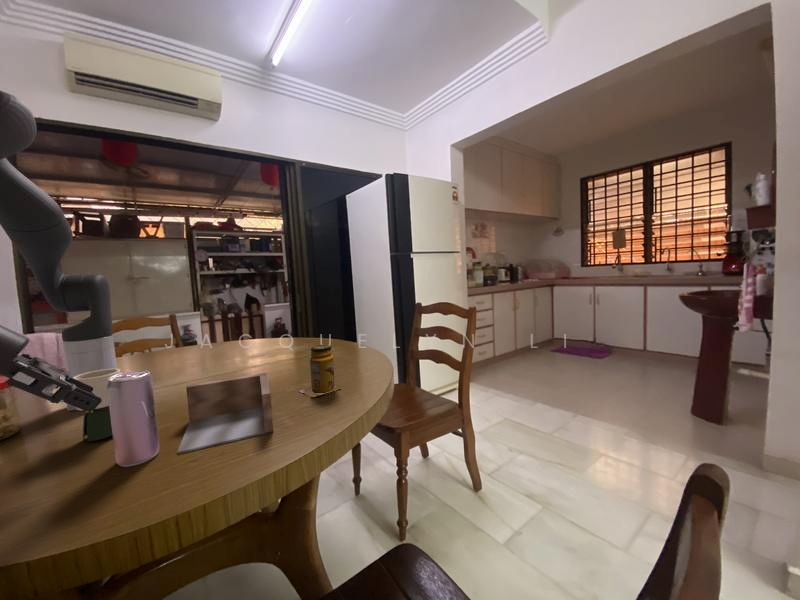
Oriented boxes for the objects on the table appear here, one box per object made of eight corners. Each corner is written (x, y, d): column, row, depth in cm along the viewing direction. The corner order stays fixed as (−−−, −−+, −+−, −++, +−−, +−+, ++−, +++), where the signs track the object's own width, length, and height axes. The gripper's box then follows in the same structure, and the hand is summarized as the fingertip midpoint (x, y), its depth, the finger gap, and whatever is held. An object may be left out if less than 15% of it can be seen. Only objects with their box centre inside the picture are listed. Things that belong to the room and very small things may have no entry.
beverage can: (133, 450, 59) (124, 371, 58) (167, 447, 60) (159, 368, 58) (106, 470, 53) (95, 382, 52) (144, 466, 54) (134, 379, 52)
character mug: (64, 441, 63) (56, 377, 62) (106, 424, 70) (99, 366, 69) (102, 448, 60) (93, 381, 59) (142, 430, 67) (135, 369, 66)
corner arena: (177, 454, 57) (172, 411, 56) (190, 420, 71) (187, 385, 70) (273, 431, 64) (270, 393, 63) (268, 405, 77) (266, 372, 77)
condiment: (341, 389, 86) (338, 345, 85) (312, 399, 80) (309, 352, 79) (326, 383, 91) (324, 342, 90) (299, 392, 85) (296, 348, 84)
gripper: (-12, 324, 39) (121, 387, 49) (-7, 317, 48) (105, 371, 58) (-82, 379, 35) (77, 435, 45) (-62, 360, 45) (66, 410, 54)
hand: (92, 399), depth 52 cm, fingers open, 8 cm apart
